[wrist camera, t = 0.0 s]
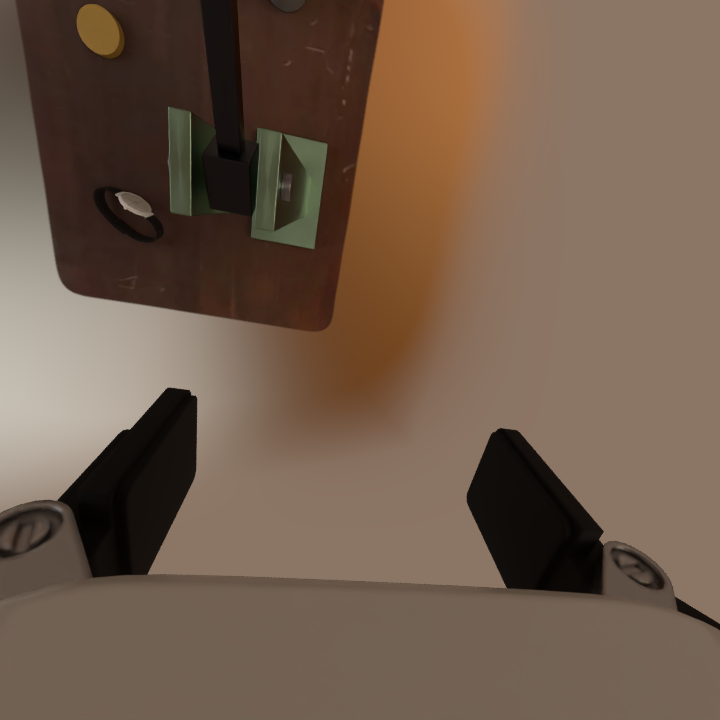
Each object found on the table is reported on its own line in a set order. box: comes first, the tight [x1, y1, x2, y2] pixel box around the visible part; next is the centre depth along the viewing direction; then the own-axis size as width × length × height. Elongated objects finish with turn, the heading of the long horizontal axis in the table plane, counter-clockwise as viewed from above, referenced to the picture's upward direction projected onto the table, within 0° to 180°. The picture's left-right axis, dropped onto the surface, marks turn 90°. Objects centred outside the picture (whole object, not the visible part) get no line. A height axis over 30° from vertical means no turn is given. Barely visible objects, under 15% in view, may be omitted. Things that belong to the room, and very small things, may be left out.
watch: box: [94, 187, 163, 243], centre depth 42 cm, size 8×5×4 cm, turn 49°
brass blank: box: [77, 4, 125, 58], centre depth 36 cm, size 4×4×1 cm
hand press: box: [168, 106, 328, 249], centre depth 30 cm, size 12×8×30 cm, turn 169°
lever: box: [200, 0, 259, 217], centre depth 14 cm, size 14×5×2 cm, turn 169°
